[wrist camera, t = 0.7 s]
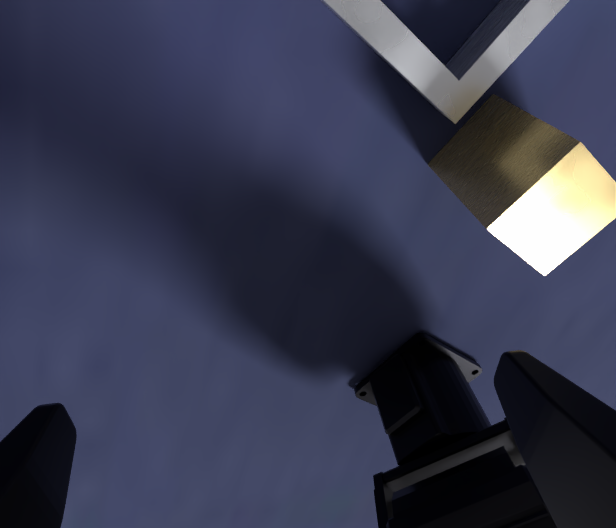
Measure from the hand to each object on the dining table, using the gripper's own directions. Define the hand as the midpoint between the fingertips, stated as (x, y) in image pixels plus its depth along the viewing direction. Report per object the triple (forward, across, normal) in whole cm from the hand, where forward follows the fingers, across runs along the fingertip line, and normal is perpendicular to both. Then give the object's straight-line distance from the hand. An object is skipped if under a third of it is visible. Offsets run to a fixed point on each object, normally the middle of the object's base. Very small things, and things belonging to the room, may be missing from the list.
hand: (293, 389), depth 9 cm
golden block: (+13, -10, 0) cm, 17 cm away
